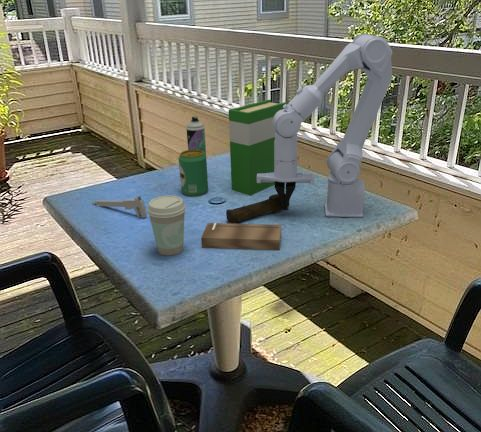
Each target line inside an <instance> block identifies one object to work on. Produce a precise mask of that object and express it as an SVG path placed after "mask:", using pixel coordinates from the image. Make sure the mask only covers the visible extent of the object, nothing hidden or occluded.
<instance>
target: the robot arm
mask: <svg viewBox="0 0 481 432" xmlns="http://www.w3.org/2000/svg"><path fill="white" fill-rule="evenodd" d="M392 56H393V50H392V48H391V46H390V44H389V42H388V41H387V39H386V38H384V37H382V36H380V35H379V36H378V35H376V36H375V35H371V34H370V33H361V34H359V35H357V36H355V37H354V39H353V40H352V42H350V43H348V44H347V45H345V47H344V48H343V49H342V51H341V52H340V53H339V54H338V55H337V57H336V58H335V59H333V61H332V63H330V65H329V66H328V67H327V68H326V69H325V70H324V71H323V73H321V75H320V76H319V77H318V78H317V80H315V82H314V83H313V84H310V85H304V86H303V87H298V89H297V90H296V93H297V94H296V95H295V96H294V97H293V98H292V99H291V100H290V101H289V102H288V104H287V105H286V104H285V105H284V106H283V108H284V109H282V110H280V111H278V112H277V113H276V114H275V116H274V119H273V120H272V123H273V126H274V128H275V129H276V130H275V141H274V172H273V173H262V174H257V183H261V182H275V185H274V189H275V192H276V193H277V194H278V196H279V198H280V201H281V205H282V210H281V211H287V210H289V209H288V208H289V207H288V204H289V205H290V201H291V197H292V196H293V193H294V192H295V189H296V187H297V184H309V185H314V184H315V174H311V173H310V174H309V173H302V172H297V170H298V133H299V132H300V130H301V127H302V123H303V122H305V121H306V120H307V119H308V118H309V117H310V115H312V113H314V112H315V111H316V109H318V107H319V106H320V105H321V104H322V103H323V97H324V94H325V93H326V92H327V91H328V90H330V88H332V87H333V86H334V85H335V84H336V83H337V82H338V81H339V80H340V79H341V78H342V77H343V76H344V75H345V74H346V73H348V71H353V70H357V69H362V70H363V72H364V74H365V76H366V83H365V85H364V87H363V89H362V92H361V94H360V97H359V99H358V102H357V105H356V106H355V109H354V111H353V114H352V116H351V118H350V121H349V123H348V125H347V128H346V130H345V132H344V135H343V138H342V139H341V140H340V141H339V142H338V143H337V144H336V145H335V148H334V150H333V151H332V152H330V154H329V155H328V156H327V160H326V166H327V168H328V169H329V170H330V173H329V175H328V177H327V178H328V179H327V195H326V196H327V197H326V203H324V211H325V217H332V218H333V217H335V218H336V217H338V218H340V217H341V218H345V217H346V218H363V217H364V206H365V196H366V194H365V192H366V189H365V187H366V185H365V179H360V178H359V177H360V174H361V163H362V161H363V147H364V144H365V142H366V140H367V137H368V135H369V134H370V131H371V129H372V126H373V124H374V121H375V119H376V117H377V115H378V113H379V111H380V108H381V106H382V103H383V101H384V99H385V96H386V94H387V92H388V89H389V87H390V86H391V82H392V80H393V69H392ZM285 194H286V200H285Z"/></svg>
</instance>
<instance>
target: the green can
mask: <svg viewBox="0 0 481 432" xmlns="http://www.w3.org/2000/svg"><path fill="white" fill-rule="evenodd" d="M206 161H207V155H206V156H205V154H204V152H203V151H201V150H188V149H187V150H184V151H181V152H180V153H179V157H178V169H179V177H180V179H179V181H180V190H181V192H182V193H183V194H184V196H187V197H200V196H203V195H205V194H206V193H207V192H208V189H209V181H208V179H209V178H208V166H207V165H208V162H207V163H206ZM207 178H208V179H207Z"/></svg>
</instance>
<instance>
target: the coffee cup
mask: <svg viewBox="0 0 481 432" xmlns="http://www.w3.org/2000/svg"><path fill="white" fill-rule="evenodd" d="M186 211H187V207H186V204H185V202H184V200H183V198H182V197H180V196H176V195H161V196H158V197H157V196H156V197H155V198H152V199H151V200H150V201H149V202H148V207H147V210H146V214H148V216H149V220H150V224H151V227H152V231H153V235H154V241H155V243H156V248H157V252H158V254H160V255H162V256H176V255H178V254H181V253H182V252H183V250H184V243H185V241H184V239H185V238H184V237H185V213H186Z"/></svg>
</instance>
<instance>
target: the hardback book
mask: <svg viewBox="0 0 481 432" xmlns="http://www.w3.org/2000/svg"><path fill="white" fill-rule="evenodd" d="M285 104H286V105H287V104H289V102H288V101H284V102H281V103H276V102H272V99H266V100H261V101H258V102H254V103H250V104H246V105H242V106H239V107H235V108H231V109H228V129H229V153H230V154H229V155H230V177H231V182H230V183H231V191H234V192H237V193H240V194H242V195H243V194H244V195H247V196H249V197H251V196H254V195H255V194H258V193H260V192H262V191H264V190H266V189H269V188H272V187H273V186H275V182H261V183H257V174H262V173H273V172H274V141H275V130H276V129H275V128H274V126H273V123H272V120H273V119H274V116H275V114H276V113H277V112H278V111H280V110H282V109H284V108H283V106H284V105H285Z"/></svg>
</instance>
